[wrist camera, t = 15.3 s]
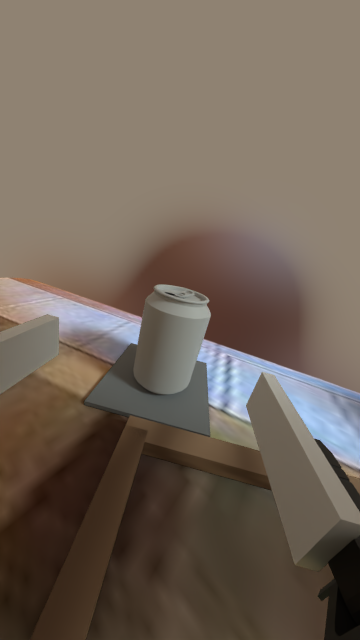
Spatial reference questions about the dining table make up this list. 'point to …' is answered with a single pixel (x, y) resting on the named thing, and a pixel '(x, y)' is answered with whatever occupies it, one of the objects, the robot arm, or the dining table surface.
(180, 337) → the can
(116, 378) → the charcoal mat
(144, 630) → the dining table surface
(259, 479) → the brown u-shaped frame
